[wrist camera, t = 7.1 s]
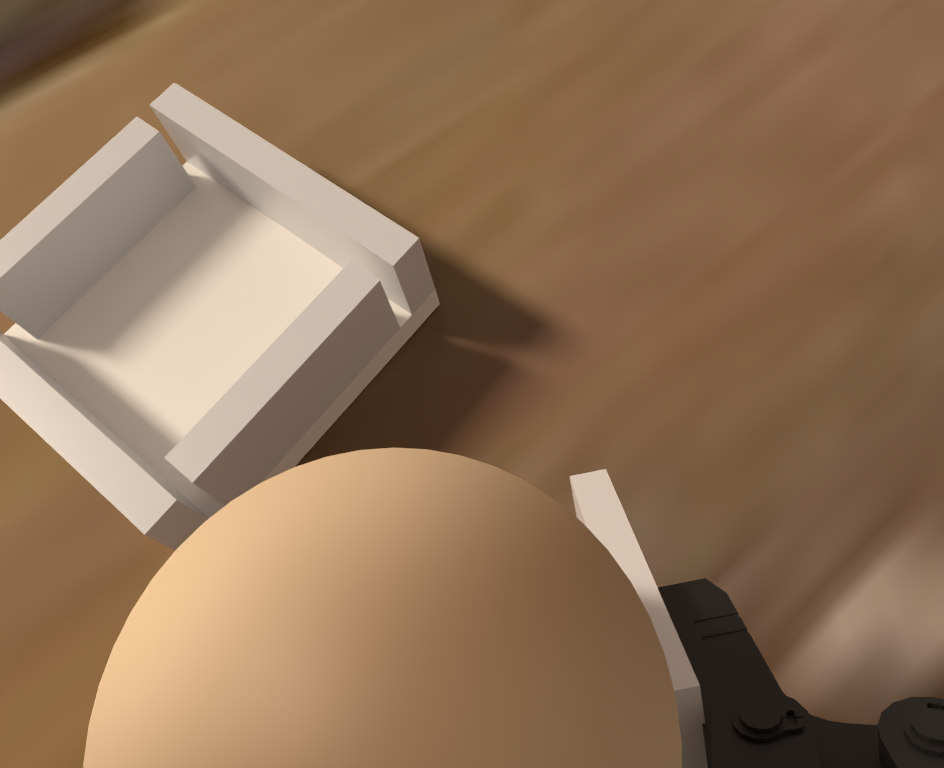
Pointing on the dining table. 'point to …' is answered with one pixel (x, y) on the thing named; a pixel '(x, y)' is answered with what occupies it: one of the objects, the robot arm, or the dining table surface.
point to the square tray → (198, 314)
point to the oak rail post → (388, 632)
